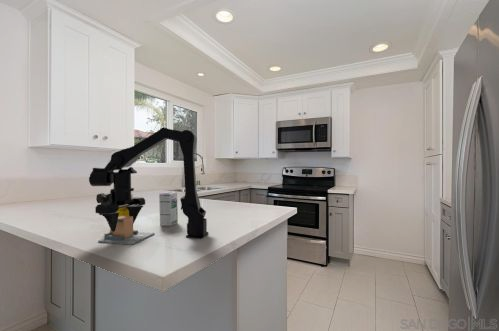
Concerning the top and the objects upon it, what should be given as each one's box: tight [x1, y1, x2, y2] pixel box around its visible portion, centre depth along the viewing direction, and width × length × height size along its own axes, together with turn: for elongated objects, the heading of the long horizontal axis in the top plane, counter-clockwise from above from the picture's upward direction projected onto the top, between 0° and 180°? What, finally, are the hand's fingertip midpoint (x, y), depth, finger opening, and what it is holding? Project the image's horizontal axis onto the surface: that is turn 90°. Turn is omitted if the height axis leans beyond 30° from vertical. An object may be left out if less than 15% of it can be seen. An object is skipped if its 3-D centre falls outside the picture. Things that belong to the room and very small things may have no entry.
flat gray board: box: [97, 229, 156, 246], centre depth 87 cm, size 14×12×3 cm
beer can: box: [117, 191, 133, 217], centre depth 103 cm, size 6×6×15 cm
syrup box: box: [158, 191, 179, 227], centre depth 106 cm, size 6×6×14 cm
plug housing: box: [113, 216, 134, 239], centre depth 87 cm, size 5×5×7 cm
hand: (122, 227), depth 87 cm, fingers open, 9 cm apart
